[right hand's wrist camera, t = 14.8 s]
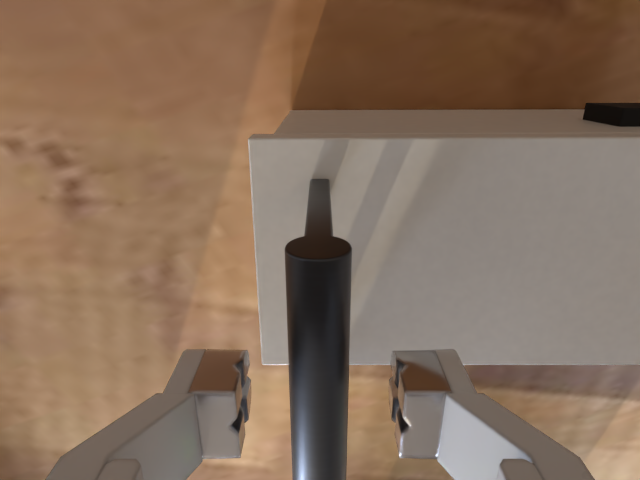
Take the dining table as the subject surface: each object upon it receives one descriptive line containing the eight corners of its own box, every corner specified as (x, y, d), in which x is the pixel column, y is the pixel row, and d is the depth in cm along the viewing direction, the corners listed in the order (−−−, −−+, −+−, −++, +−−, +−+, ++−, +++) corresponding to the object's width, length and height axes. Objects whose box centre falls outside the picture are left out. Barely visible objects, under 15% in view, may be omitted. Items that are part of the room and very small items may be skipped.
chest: (294, 260, 29) (281, 349, 20) (290, 110, 25) (272, 133, 16) (560, 260, 29) (672, 349, 20) (593, 109, 25) (748, 132, 16)
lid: (264, 350, 20) (226, 543, 12) (252, 133, 16) (184, 197, 8) (673, 350, 20) (916, 544, 12) (749, 132, 16) (1170, 195, 8)
